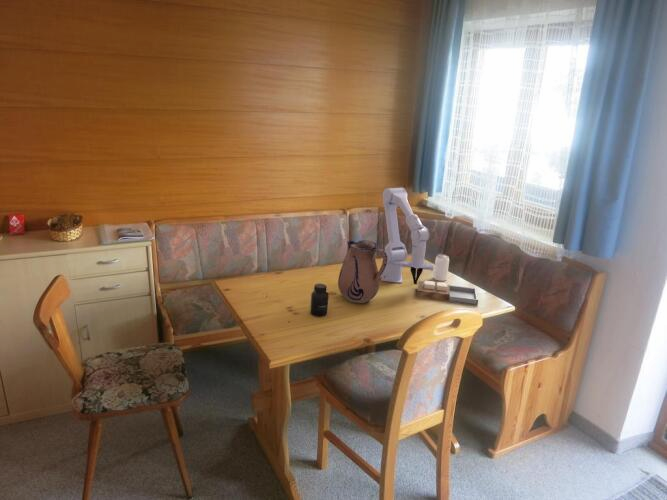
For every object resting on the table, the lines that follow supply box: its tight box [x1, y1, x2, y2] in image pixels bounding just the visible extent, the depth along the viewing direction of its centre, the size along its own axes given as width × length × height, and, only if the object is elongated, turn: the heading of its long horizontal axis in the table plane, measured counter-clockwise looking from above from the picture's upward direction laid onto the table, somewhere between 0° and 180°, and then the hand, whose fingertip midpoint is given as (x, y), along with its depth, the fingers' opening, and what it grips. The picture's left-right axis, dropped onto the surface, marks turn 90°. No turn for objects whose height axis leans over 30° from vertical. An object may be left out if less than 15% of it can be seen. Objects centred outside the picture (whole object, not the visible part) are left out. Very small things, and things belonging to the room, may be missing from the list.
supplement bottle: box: [309, 283, 329, 318], centre depth 191 cm, size 7×7×12 cm
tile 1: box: [424, 280, 436, 289], centre depth 218 cm, size 4×4×2 cm
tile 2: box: [436, 281, 448, 291], centre depth 217 cm, size 4×4×2 cm
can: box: [433, 253, 450, 282], centre depth 236 cm, size 6×6×12 cm
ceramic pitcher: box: [337, 239, 388, 304], centre depth 204 cm, size 18×21×25 cm
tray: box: [448, 284, 479, 306], centre depth 216 cm, size 12×14×2 cm
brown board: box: [416, 280, 451, 302], centre depth 218 cm, size 14×12×3 cm
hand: (415, 283), depth 219 cm, fingers closed
